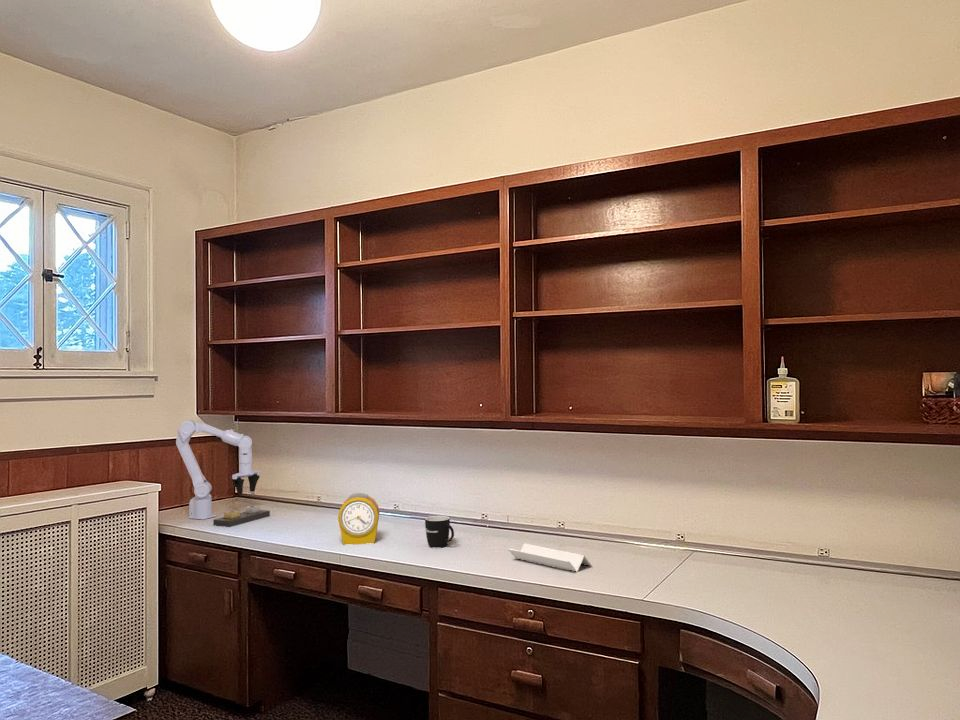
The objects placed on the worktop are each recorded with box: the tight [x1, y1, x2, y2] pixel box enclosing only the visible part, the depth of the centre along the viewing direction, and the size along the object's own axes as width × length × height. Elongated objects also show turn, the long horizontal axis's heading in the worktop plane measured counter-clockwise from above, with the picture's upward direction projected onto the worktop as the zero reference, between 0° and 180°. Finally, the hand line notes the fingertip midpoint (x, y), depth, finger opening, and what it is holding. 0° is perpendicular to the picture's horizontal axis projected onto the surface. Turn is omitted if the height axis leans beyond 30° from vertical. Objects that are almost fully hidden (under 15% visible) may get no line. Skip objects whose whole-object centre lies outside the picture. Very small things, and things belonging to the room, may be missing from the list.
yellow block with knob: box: [223, 510, 241, 520], centre depth 314 cm, size 4×4×5 cm
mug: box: [424, 515, 455, 548], centre depth 267 cm, size 12×9×10 cm
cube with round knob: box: [244, 505, 261, 514], centre depth 325 cm, size 4×4×5 cm
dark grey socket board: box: [212, 509, 271, 528], centre depth 320 cm, size 9×24×2 cm, turn 153°
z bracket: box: [507, 543, 593, 572], centre depth 241 cm, size 12×25×6 cm
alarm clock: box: [337, 492, 380, 546], centre depth 277 cm, size 15×8×18 cm, turn 95°
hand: (246, 492), depth 332 cm, fingers open, 7 cm apart
